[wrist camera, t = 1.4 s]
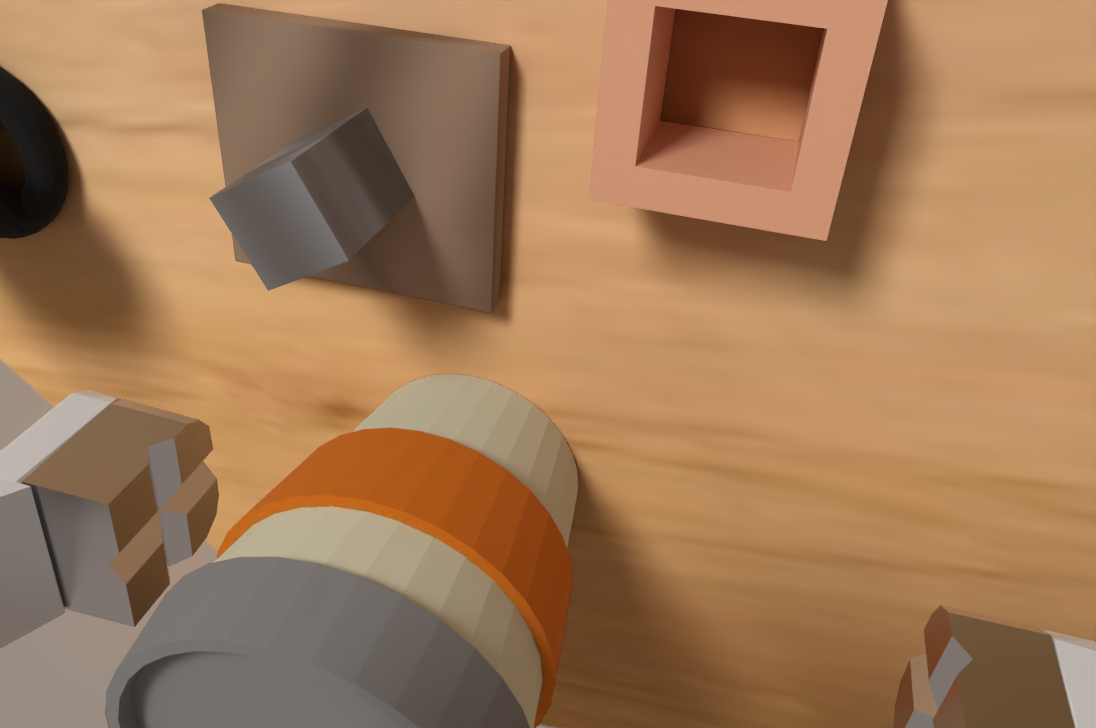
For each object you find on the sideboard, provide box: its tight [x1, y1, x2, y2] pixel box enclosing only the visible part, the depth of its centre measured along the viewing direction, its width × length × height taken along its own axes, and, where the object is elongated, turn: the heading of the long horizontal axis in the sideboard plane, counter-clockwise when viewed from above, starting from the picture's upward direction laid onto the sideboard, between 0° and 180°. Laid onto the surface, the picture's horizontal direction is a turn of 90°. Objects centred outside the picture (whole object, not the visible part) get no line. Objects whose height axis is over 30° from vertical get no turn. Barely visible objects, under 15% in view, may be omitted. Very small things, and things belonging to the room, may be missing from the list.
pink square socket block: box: [589, 0, 888, 241], centre depth 26 cm, size 7×7×4 cm
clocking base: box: [202, 3, 510, 313], centre depth 30 cm, size 10×9×6 cm
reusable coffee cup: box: [105, 374, 579, 728], centre depth 32 cm, size 13×13×15 cm
